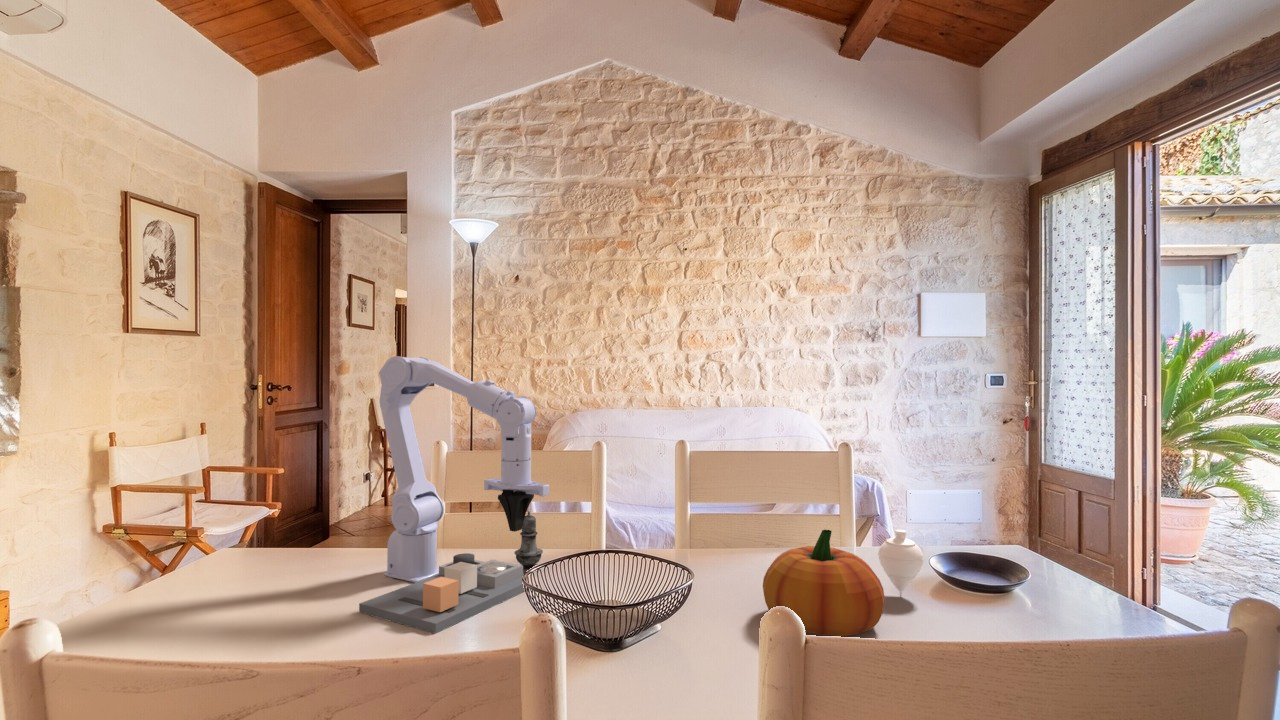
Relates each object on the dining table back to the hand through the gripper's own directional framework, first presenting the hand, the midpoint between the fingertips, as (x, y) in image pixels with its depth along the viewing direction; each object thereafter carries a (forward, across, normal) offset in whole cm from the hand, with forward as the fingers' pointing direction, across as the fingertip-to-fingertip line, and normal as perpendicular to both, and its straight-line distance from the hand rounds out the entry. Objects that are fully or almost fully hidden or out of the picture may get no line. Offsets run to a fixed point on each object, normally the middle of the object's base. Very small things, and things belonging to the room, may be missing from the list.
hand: (515, 530), depth 122 cm
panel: (+10, -5, -11) cm, 16 cm away
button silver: (+8, -3, -3) cm, 9 cm away
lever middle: (+8, -3, -11) cm, 14 cm away
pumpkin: (+11, +56, +10) cm, 58 cm away
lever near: (+8, 0, -19) cm, 21 cm away
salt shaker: (+11, -4, +9) cm, 14 cm away
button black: (+7, -10, -3) cm, 13 cm away
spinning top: (+11, +66, +29) cm, 73 cm away
